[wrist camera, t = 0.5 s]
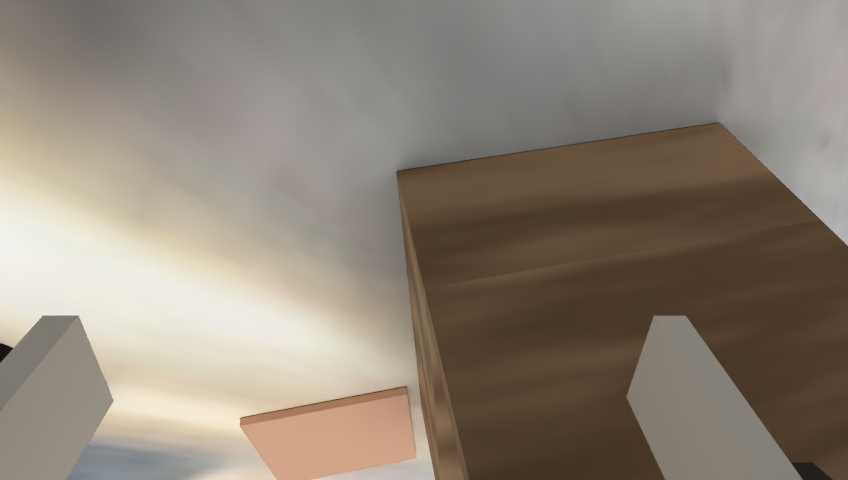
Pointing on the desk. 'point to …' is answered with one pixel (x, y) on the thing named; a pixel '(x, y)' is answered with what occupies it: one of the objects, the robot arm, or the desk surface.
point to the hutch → (616, 301)
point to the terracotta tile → (334, 435)
